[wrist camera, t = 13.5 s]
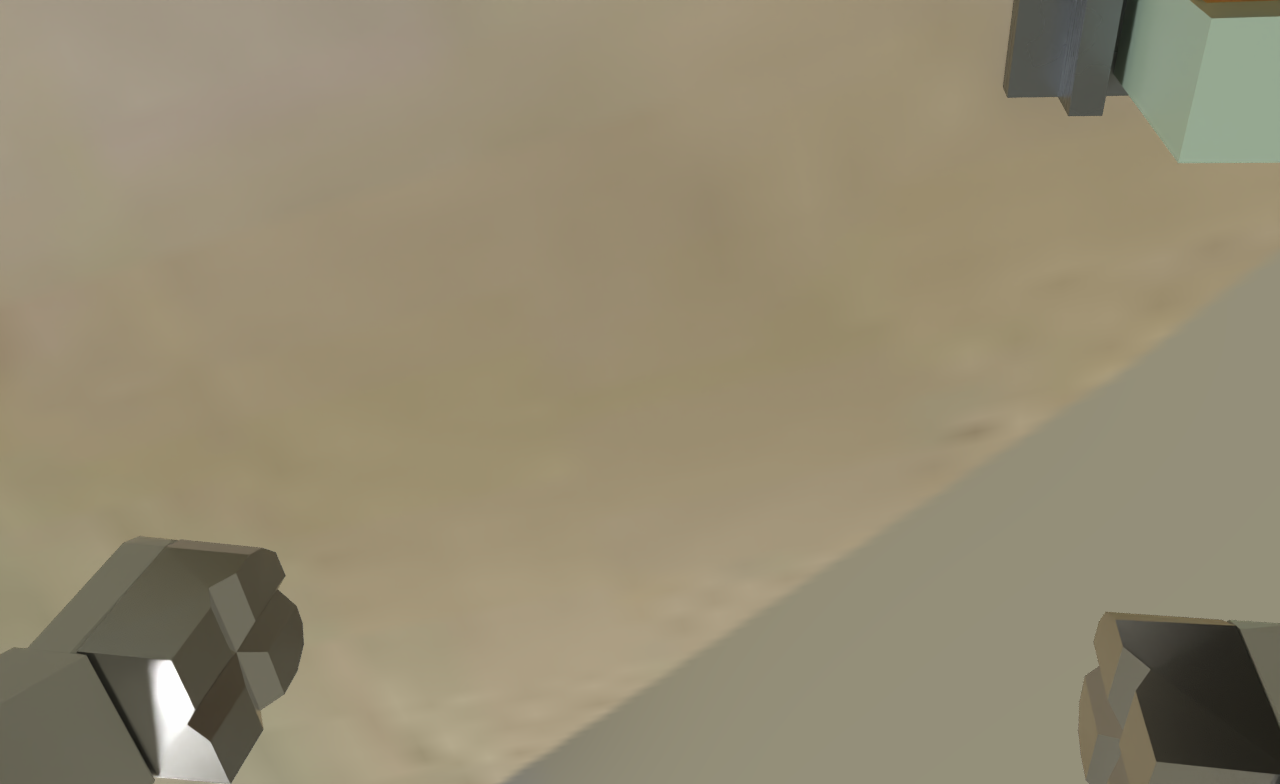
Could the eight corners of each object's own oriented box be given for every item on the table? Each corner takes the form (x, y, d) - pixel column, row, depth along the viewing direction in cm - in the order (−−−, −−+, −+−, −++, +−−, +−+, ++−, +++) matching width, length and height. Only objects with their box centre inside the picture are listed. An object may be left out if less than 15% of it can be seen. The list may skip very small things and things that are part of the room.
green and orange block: (1235, 71, 32) (1333, 161, 25) (1113, 74, 32) (1178, 163, 26) (1270, -69, 29) (1388, -10, 23) (1138, -63, 30) (1216, -4, 23)
